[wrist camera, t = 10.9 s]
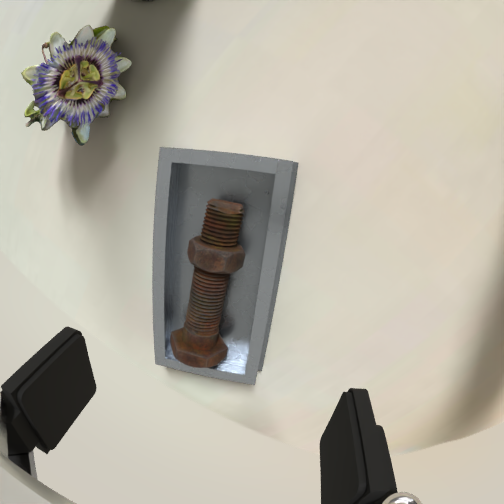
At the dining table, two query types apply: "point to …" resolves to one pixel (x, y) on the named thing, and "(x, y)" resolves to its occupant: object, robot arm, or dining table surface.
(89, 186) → the dining table surface
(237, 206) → the bolt
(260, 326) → the tray
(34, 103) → the passion flower
